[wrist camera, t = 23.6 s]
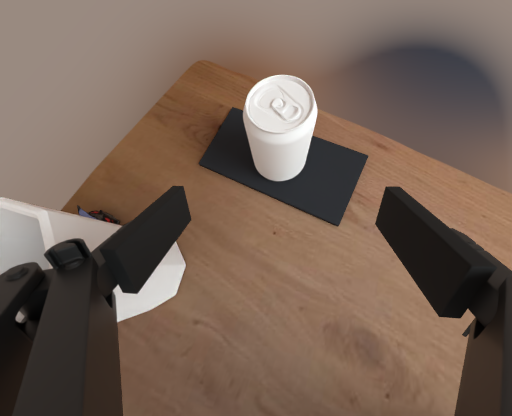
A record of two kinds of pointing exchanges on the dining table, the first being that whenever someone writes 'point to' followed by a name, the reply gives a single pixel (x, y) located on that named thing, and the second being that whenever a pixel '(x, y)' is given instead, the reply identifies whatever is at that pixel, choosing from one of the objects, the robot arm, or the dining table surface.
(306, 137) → the beverage can
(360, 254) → the dining table surface
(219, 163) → the place mat
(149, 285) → the cup
